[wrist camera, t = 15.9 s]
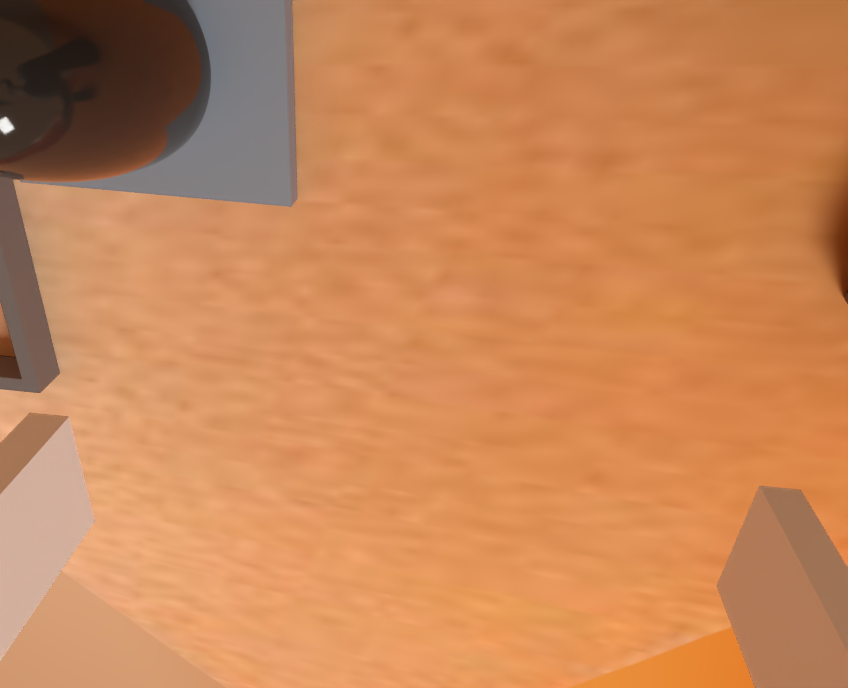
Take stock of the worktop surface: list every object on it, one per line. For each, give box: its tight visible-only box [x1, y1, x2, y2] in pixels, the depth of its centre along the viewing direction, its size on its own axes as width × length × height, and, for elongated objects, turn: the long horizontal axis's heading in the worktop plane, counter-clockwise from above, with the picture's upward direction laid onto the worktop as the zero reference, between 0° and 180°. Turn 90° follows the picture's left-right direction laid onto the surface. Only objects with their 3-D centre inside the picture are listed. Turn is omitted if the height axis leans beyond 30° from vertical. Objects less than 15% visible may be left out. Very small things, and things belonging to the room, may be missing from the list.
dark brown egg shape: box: [0, 0, 211, 182], centre depth 29 cm, size 10×10×15 cm
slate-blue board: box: [20, 0, 297, 207], centre depth 36 cm, size 16×16×2 cm
